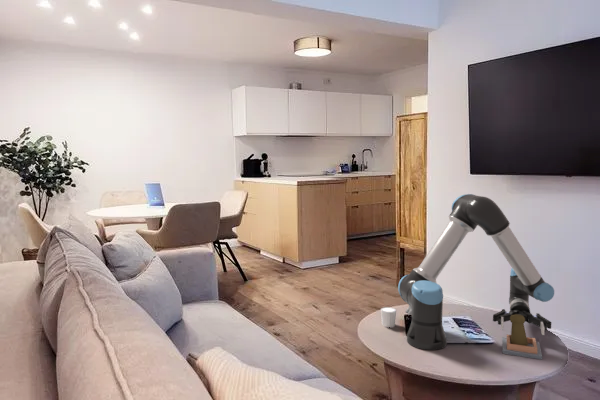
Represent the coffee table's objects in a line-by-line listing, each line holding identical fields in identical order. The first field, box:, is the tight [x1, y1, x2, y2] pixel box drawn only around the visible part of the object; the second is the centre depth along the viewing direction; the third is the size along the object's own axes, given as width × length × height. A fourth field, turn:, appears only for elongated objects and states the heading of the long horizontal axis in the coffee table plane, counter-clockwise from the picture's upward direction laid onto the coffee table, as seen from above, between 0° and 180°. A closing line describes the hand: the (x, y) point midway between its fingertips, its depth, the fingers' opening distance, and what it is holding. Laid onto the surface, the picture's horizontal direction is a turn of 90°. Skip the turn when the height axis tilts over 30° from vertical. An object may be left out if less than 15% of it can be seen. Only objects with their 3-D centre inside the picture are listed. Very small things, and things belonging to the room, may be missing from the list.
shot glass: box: [380, 306, 397, 328], centre depth 192 cm, size 7×7×7 cm
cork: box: [509, 314, 528, 346], centre depth 168 cm, size 6×6×11 cm
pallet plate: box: [501, 334, 543, 360], centre depth 167 cm, size 13×13×3 cm
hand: (522, 328), depth 163 cm, fingers open, 13 cm apart
